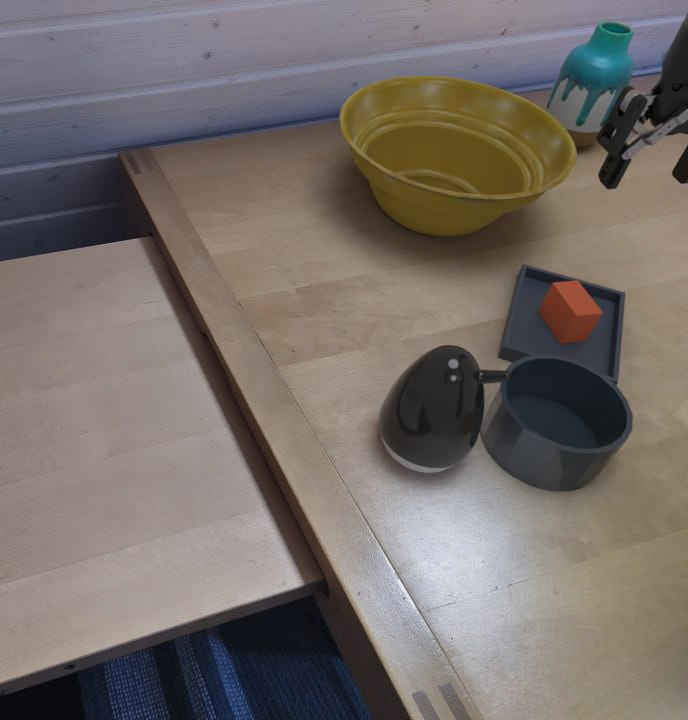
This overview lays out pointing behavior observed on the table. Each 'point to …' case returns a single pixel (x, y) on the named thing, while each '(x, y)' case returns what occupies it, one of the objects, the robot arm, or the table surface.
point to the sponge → (569, 312)
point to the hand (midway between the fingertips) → (643, 182)
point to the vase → (592, 81)
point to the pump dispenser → (436, 409)
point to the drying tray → (535, 337)
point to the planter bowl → (453, 151)
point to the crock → (555, 422)
